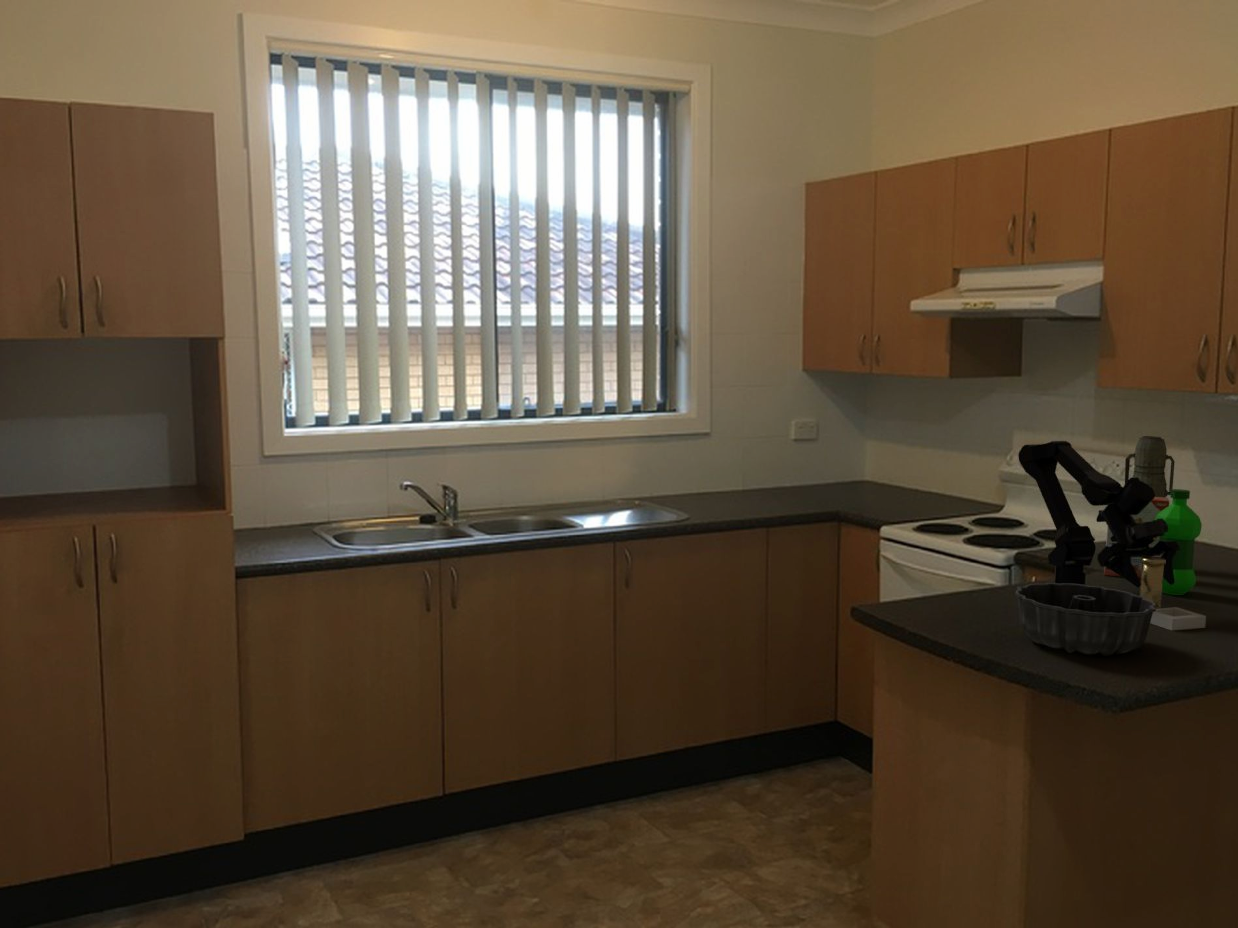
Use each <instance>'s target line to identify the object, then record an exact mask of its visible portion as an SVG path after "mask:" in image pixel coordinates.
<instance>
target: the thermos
mask: <svg viewBox="0 0 1238 928" xmlns="http://www.w3.org/2000/svg"><path fill="white" fill-rule="evenodd" d="M1134 451H1135V452H1133V453H1130V454H1128V456H1127V457H1125V461H1124V463H1125V465H1124V466H1125V467H1124V485H1125V484H1126V483H1127V481H1128V480H1129V479H1130V466H1131V465H1130V463H1131V460H1132V458H1134V460H1133V461H1134V464H1133V465H1134V470H1133V474H1132V477H1131V478H1135V477H1138V478H1139V480H1140V481H1142V482H1144V483H1146V484H1147V485H1148V486H1150V487H1151V488H1152V489H1153V490H1154V492H1155V497H1163V498H1167V497H1168V496H1170V494H1171V489H1174V487H1173V486H1174V477H1175V476H1174V475H1175V472H1174V471H1175V463H1176V462H1175V460H1174V458H1173V457H1172V455H1168V454H1167V445H1166V442H1165V439H1164V438H1162V437H1160V436H1152V435H1151V436H1149V435H1146V436H1145V435H1143V436H1142V437H1139V438H1138V440H1137V442H1136V445H1135V450H1134ZM1168 460H1169V461H1170V471H1169V472H1170V476H1169V487H1168V490H1167V485H1168V484H1167V481H1166V477H1165V475H1166V472H1165V468H1166V464H1167V462H1166V461H1168Z"/></svg>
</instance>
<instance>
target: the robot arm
mask: <svg viewBox="0 0 1238 928" xmlns="http://www.w3.org/2000/svg"><path fill="white" fill-rule="evenodd" d="M1018 461H1019V463H1020V465H1021V467H1022V469H1023V470H1024V472H1025V473H1026V474H1028V475H1029V477H1031V478H1033V479H1034V480H1035V482H1036V484H1037V487H1038V489H1039V492H1040V493H1041V496H1042V499H1043V500H1044V503H1045V506H1046V508H1047V510H1048V513H1049V515H1050V518H1051V520H1052V522H1053V524H1054V528H1055V530H1056V532H1055V533H1056V534H1055V537H1054V544H1055V547H1054V548H1053V549H1052V550H1051V551H1050V552H1049V554H1047V558H1048V564H1049V565H1052V566H1054V567H1055V569H1054V570H1055V571H1054V583H1057V584H1064V583H1067V584H1081V585H1086V577H1087V576H1086V571H1085V570H1084V566H1085V567H1087V566H1088V567H1089V566H1091V564H1092V561H1093V558H1094V555H1095V553H1096V550H1097V549H1096V547H1097V546H1096V544H1095V543H1096V542H1095V541H1096V539H1095V538H1094V535H1092V531H1091V529H1090V527H1089V526H1088V525H1081V524H1079V523H1078V521H1077V520H1076V518H1075V516H1074V513H1073V511H1072V509H1071V506H1070V503H1069V502H1068V500H1067V497H1066V494H1065V491H1064V490H1063V487H1062V485H1061V483H1060V480H1059V477H1058V476H1057V473H1056V471H1057V466H1058V465H1060V466H1061V467H1062V468H1063V469H1064V470H1065V471H1066V472H1067V474H1069V475H1070V476H1071V477H1072V478H1073V479H1074V480H1075V481H1076V482H1077V483H1078V484H1079V485H1080V487H1081V489H1080V490H1081V494H1082V495H1083V497H1084V499H1086V501H1087V502H1088V503H1089V504H1090V505H1091V506H1094V507H1096V506H1097V507H1099V506H1100V507H1101V506H1105V508H1104V509H1103V510H1102V509H1099V510H1098V515H1097V517H1096V522H1097V523H1105V524H1106V525H1107V526H1108V527H1109V529H1110V531H1111V533H1112V534H1113V536H1112V537H1111V538H1110V539H1111V541H1112V542H1117V543H1109V544H1108V545H1107V546H1106V545H1105V546H1104V548H1103V549H1102V550H1101V551H1099V553H1098V554H1097V559H1096V560H1097V562H1098V564H1099V566H1100V567H1101V568H1104V567H1106V568H1107V569H1110V570H1112V571H1113V572H1115V573H1117V574H1118V575H1120V576H1122V577H1121V578H1123V579H1124V580H1126V581H1128V583H1131V584H1132V585H1133V586H1135V587H1136V588H1140V586H1141V579H1139V577H1138V575H1137V573H1136V571H1135V569H1134V567H1133V566H1132V564H1131V558H1132V557H1145V556H1150V557H1159V558H1164V559H1166V564H1164V571H1163V578H1164V579H1165V580H1166V581H1167V582H1168V583H1169V584H1170V585H1173V584H1174V583H1175V580H1174V574H1173V567H1172V559H1173V556H1175V555H1176V554H1177V552H1178V551H1179V550H1180V547H1179V545H1178V544H1177V542H1176V541H1174V540H1163V541H1159V542H1158V543H1157V544H1156V545H1155V546H1154V547H1149V544H1152V543H1153V542H1154V539H1153V538H1155V537H1158V536H1164V535H1165V534H1164V533H1165V532H1168V525H1167V523H1166V522H1165V521H1164V519H1156V520H1153V521H1151V522H1144V523H1136V521H1135V520H1134V518H1133V516H1132V515H1138V514H1139V513H1140V512H1141V511H1142V510H1143V509H1144V508H1145V507H1146V506H1147V505H1148V504H1149V503H1150V502H1151V501H1152V500H1153V499H1154V498H1155V492H1154V490H1153V489H1152V488H1151V487H1150V486H1148V485H1147V484H1146V483H1144V482H1142V481H1140V480H1139V478H1138V477H1135V478H1132V477H1129V480H1128V481H1127V483H1126V484H1125V483H1124V485H1123V486H1122V485H1121V483H1120V482H1119V481H1118V480H1116V479H1114V478H1113V477H1111V476H1110V475H1106V474H1103V473H1101V472H1099V471H1098V470H1096V469H1095V468H1094V467H1093V466H1092V465H1091V464H1090V463H1089V462H1088V461H1087V460H1086V459H1085V458H1084V457H1083V456H1082V455H1081V454H1080V453H1078V452H1077V451H1076V450H1075V448H1073V445H1072V444H1071V443H1070V442H1069V441H1067V440H1052V441H1050V442H1047V443H1040V444H1038V443H1037V444H1024V445H1023V446H1021V449H1020V450H1019V452H1018Z"/></svg>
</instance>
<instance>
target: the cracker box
mask: <svg viewBox="0 0 1238 928" xmlns="http://www.w3.org/2000/svg"><path fill="white" fill-rule="evenodd" d="M1168 506H1170V500H1169V498H1168V497H1166V498H1163V497H1155V498H1154V499H1153V500H1152V501H1151V502H1150V503H1149V504H1148V505H1147V506H1146V507H1145V508H1144V509H1143V510H1142V511H1141V512H1140V513H1139V514H1138V515H1132V516H1133V518H1134V520H1135V521H1136V523H1144V522H1151V521H1153V520H1155V518H1156V516H1157V514H1158V513H1160V512H1161V511H1162V510H1164V509H1165V508H1166V507H1168ZM1112 536H1113V534H1112V533H1111V531H1110V529H1109V527H1108V525H1107V529H1106V538H1105V539H1106V542H1105V547H1106V546H1107V545H1108V544H1109V543H1117V542H1112V541H1111V539H1110V538H1111V537H1112ZM1153 539H1154V542H1153V543H1152V544H1149V547H1154V546H1155V545H1156V544H1157V543H1158V542H1159V536H1158V537H1155V538H1153ZM1131 564H1132V566H1133V567H1134V569H1135V571H1136V573H1137V575H1138V577H1139V580H1141V572H1142V562H1141V557H1132V558H1131ZM1103 575H1104V576H1107V577H1108V576H1109V577H1110V576H1111V577H1121V578H1123V577H1122V576H1120V575H1118V574H1117V573H1115V572H1113V571H1112V570H1110V569H1107V568H1106V567H1103Z"/></svg>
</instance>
